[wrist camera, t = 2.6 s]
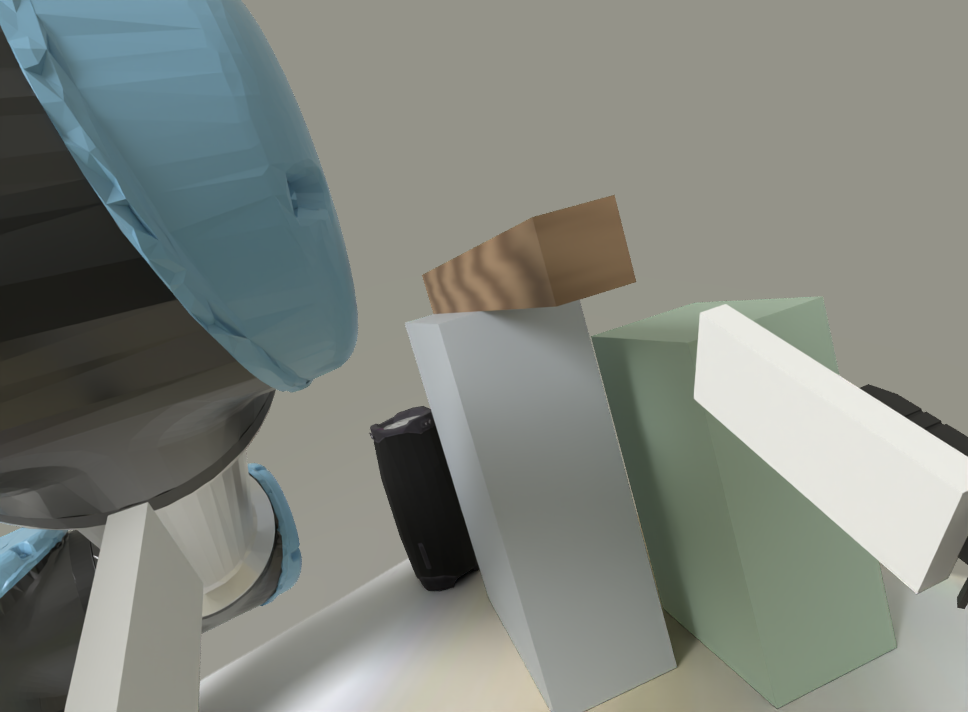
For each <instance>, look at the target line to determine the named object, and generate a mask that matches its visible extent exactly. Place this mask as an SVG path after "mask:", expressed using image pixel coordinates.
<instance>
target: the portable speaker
mask: <svg viewBox="0 0 968 712" xmlns="http://www.w3.org/2000/svg"><path fill="white" fill-rule="evenodd" d="M370 429H371V432H372V434H371V433H370V436H371V438H372V439H373V440H374V445H375V450H376V455H377V460H378V464H379V469H380V474H381V479H382V482H383V485H384V488H385V491H386V495H387V498H388V501H389V504H390V507H391V510H392V513H393V516H394V519H395V522H396V525H397V529H398V532H399V535H400V537H401V540H402V543H403V545H404V547H405V550H406V552H407V555H408V557H409V560H410V562H411V565H412V567H413V570H414V572H415V575H416V577H417V578H418V579H419V580H420V581H421V583H422V585H423V586H424V588H426V589H427V590H428V591H435V590H444V589H448V588H452V587H454V584H455V581H456V579H457V578H459V577H460V576H462V575H463V574H465V573H466V572H468V571H469V570H471V569H473V570H475V571H476V570H478V569H480V568H479V565H478V562H477V559H476V555H475V552H474V549H473V546H472V542H471V539H470V536H469V532H468V529H467V526H466V523H465V519H464V516H463V513H462V510H461V506H460V503H459V500H458V496H457V493H456V490H455V487H454V483H453V480H452V477H451V473H450V470H449V467H448V464H447V460H446V457H445V454H444V451H443V447H442V444H441V441H440V437H439V434H438V431H437V428H436V424H435V421H434V418H433V414H432V411H431V409H429V408H426V407H424V406H421V407H415V408H411V409H408V410H405V411H402V412H399V413H397V414H396V415H395V416H394V417H393V418H391V419H389V420H387V421H385V422H383V423H381V424H379V425H378V424H374V425H372V426H371V427H370Z"/></svg>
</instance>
